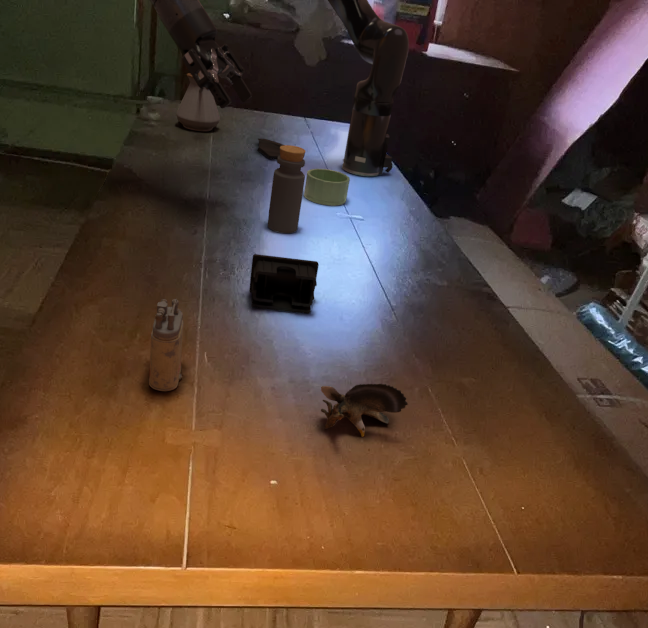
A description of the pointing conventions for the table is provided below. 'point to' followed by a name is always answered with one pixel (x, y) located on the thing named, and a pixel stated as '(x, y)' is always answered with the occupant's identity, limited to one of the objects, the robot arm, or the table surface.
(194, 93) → the coffee pot
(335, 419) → the dark toy animal
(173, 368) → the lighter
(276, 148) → the dark sector wedge
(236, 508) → the table surface
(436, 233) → the table surface
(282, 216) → the bottle
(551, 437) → the table surface
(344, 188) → the holder
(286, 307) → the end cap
